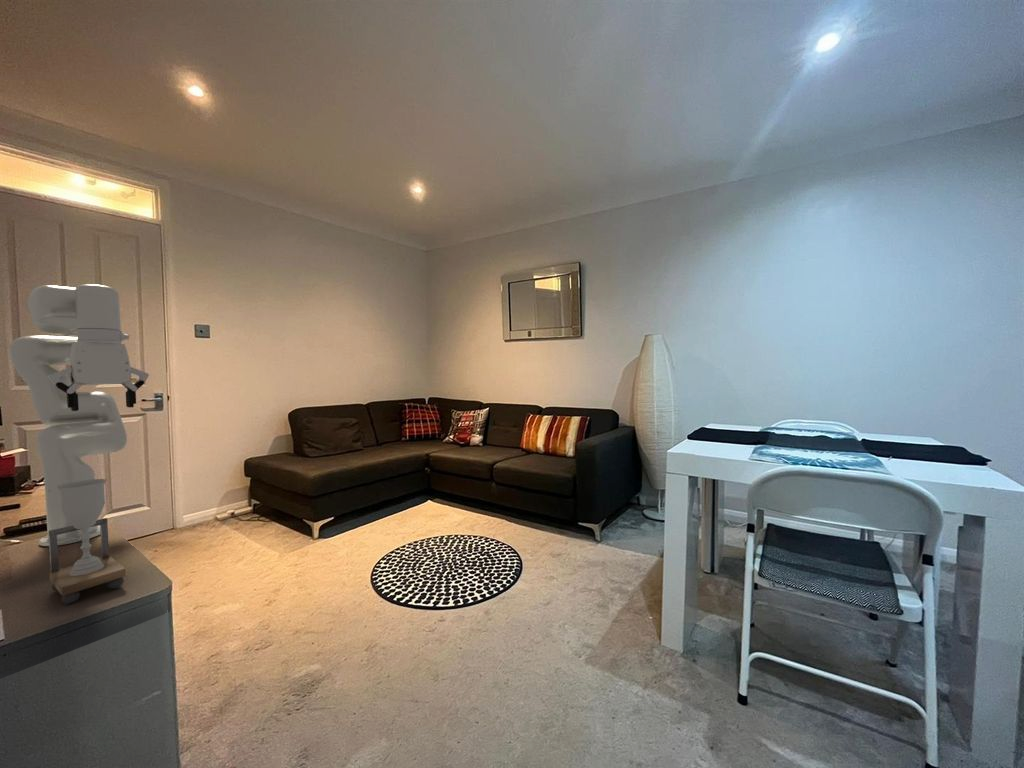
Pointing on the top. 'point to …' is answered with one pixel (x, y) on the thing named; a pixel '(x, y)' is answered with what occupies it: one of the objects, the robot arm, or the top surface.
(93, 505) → the chalice
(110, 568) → the cart
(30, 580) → the top surface
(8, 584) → the top surface
